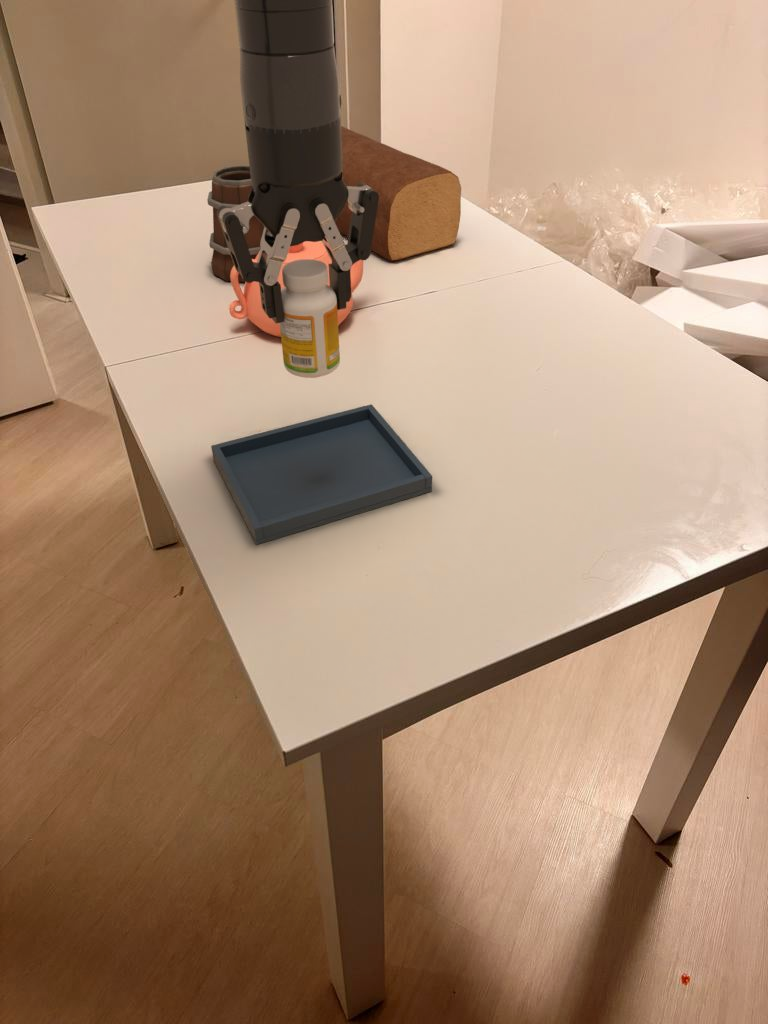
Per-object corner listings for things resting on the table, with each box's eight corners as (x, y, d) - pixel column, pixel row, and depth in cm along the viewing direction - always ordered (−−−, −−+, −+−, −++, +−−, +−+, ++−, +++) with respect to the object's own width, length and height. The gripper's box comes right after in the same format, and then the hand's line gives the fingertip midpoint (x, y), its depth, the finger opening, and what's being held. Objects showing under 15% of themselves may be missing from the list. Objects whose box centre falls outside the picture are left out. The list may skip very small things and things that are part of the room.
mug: (295, 274, 129) (287, 178, 119) (222, 288, 125) (207, 190, 115) (266, 241, 140) (256, 150, 130) (198, 252, 136) (182, 160, 126)
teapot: (356, 284, 126) (353, 203, 118) (397, 326, 115) (397, 240, 107) (218, 310, 119) (206, 227, 111) (248, 358, 108) (236, 269, 100)
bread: (342, 184, 162) (338, 112, 154) (462, 244, 137) (466, 162, 129) (274, 200, 156) (267, 125, 147) (388, 266, 131) (387, 181, 122)
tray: (256, 544, 80) (254, 529, 78) (213, 460, 90) (210, 445, 89) (432, 491, 86) (432, 475, 84) (372, 418, 97) (371, 403, 95)
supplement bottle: (327, 346, 80) (321, 251, 73) (349, 371, 76) (344, 273, 70) (276, 358, 78) (265, 262, 72) (295, 384, 74) (286, 285, 68)
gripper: (357, 91, 67) (363, 282, 78) (189, 111, 63) (220, 311, 74) (396, 112, 62) (396, 314, 73) (215, 136, 58) (244, 347, 69)
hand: (307, 312), depth 73 cm, fingers closed on supplement bottle, 5 cm apart
